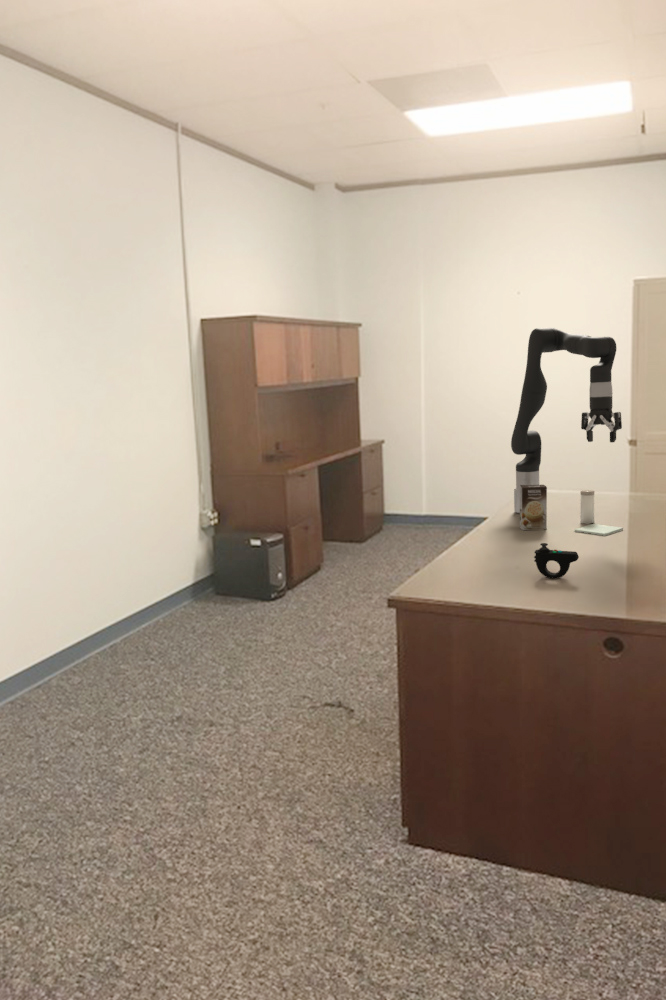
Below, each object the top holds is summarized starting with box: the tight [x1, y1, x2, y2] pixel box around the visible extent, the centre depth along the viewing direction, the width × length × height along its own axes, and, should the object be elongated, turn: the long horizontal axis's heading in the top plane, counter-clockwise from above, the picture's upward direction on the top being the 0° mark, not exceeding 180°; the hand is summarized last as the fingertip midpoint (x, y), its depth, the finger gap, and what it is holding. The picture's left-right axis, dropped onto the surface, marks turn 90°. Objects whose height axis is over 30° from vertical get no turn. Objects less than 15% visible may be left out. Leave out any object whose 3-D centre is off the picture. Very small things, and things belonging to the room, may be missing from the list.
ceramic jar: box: [579, 489, 595, 525], centre depth 299 cm, size 5×5×12 cm
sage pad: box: [574, 523, 624, 537], centre depth 285 cm, size 12×12×1 cm
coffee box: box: [519, 484, 548, 531], centre depth 294 cm, size 9×6×16 cm
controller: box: [533, 542, 580, 580], centre depth 228 cm, size 4×12×10 cm, turn 65°
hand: (601, 441), depth 278 cm, fingers open, 8 cm apart
